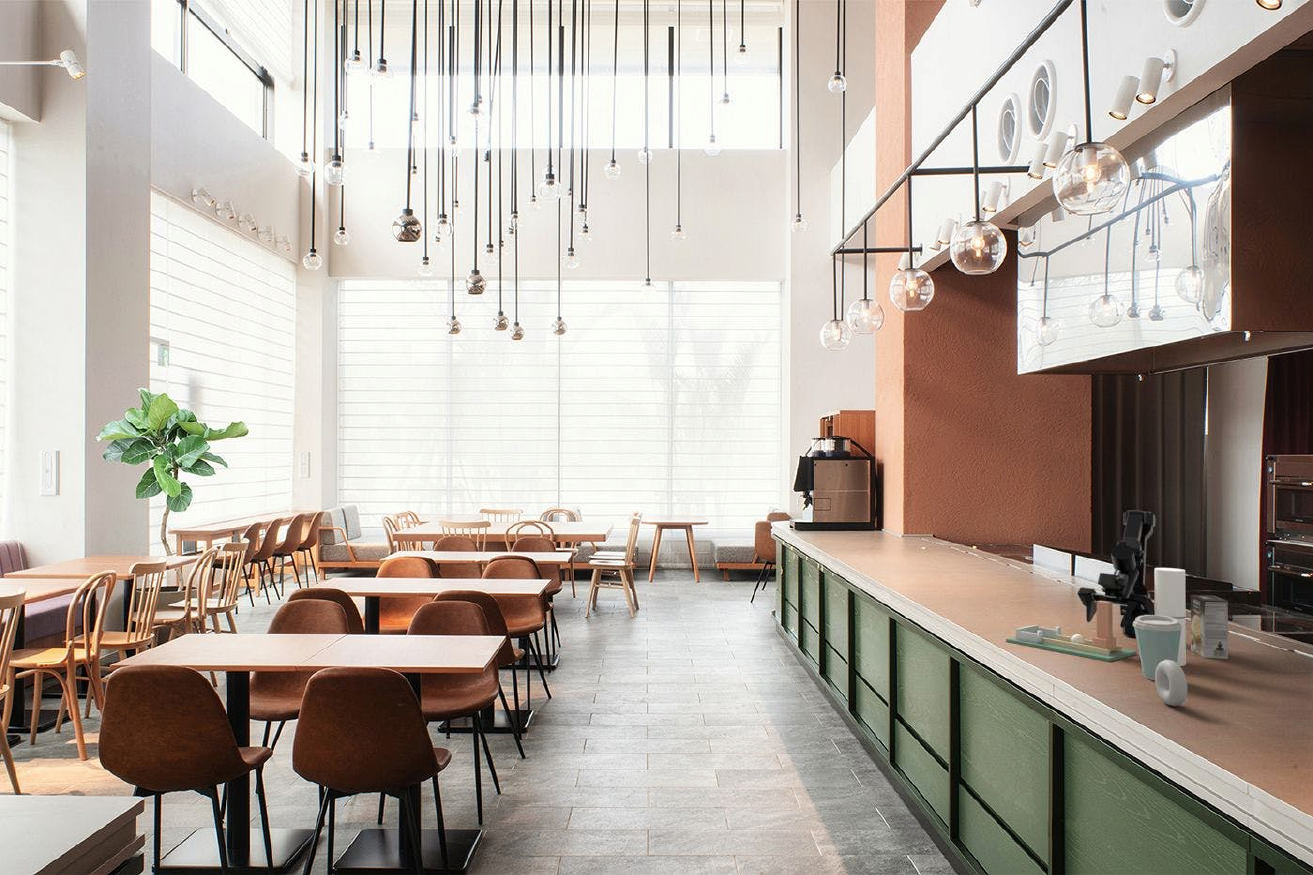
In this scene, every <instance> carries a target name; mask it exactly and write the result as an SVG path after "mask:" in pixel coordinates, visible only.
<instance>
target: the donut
mask: <svg viewBox="0 0 1313 875" xmlns="http://www.w3.org/2000/svg"><path fill="white" fill-rule="evenodd" d="M1154 682H1155V687H1156V691H1157V694H1158V695H1159V698H1160V699H1161V701H1163V702H1164V703H1165V704H1167V705H1168V706H1172V707H1178V706H1181V705H1182V704H1184V702H1185V701H1186V699H1187V696H1188V680H1187V677H1186V675H1185V672H1184V670H1183V669H1182V667H1181V666H1179V665H1178V664H1177V663H1176V662H1174V661H1171V660H1164V661H1162V662H1160V663H1159V664H1158V666H1157V668H1156V672H1155V680H1154Z"/></svg>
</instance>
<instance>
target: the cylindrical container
mask: <svg viewBox="0 0 1313 875" xmlns="http://www.w3.org/2000/svg"><path fill="white" fill-rule="evenodd" d="M1186 600H1187V599H1186V570H1185V569H1181V568H1175V567H1174V568H1173V567H1155V568H1154V607H1155V615H1159V616H1168V617H1171V618H1175V619H1177V620H1178V621H1179V624H1180V625H1182V630H1181V635H1180V643H1179V650H1178V658H1177V664H1178V665H1179V666H1180V667H1181V666H1182V667H1184V666H1187V648H1186V644H1187V642H1186V641H1187V640H1186V637H1187V632H1186V629H1187V628H1186V627H1187V626H1186V625H1187V624H1186V623H1187V622H1186V621H1187V620H1186V608H1187V607H1186Z"/></svg>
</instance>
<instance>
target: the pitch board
mask: <svg viewBox="0 0 1313 875" xmlns="http://www.w3.org/2000/svg"><path fill="white" fill-rule="evenodd" d="M1071 638H1072V636H1070V635H1069V636H1068V635H1065V634H1064V635H1063V634H1061V635H1058V634H1056V635H1055V638H1049V637H1044V636H1043V644H1038V643H1034V642H1029V641H1023V640H1018V639H1016V636H1014V637H1010V638H1006V639H1005V641H1006V643H1011V644H1016V645H1021V646H1024V647H1025V646H1027V647H1032V648H1037V649H1042V650H1045V651H1046V650H1047V651H1052V652H1056V653H1062V654H1066V653H1067V655H1072V656H1077V655H1078V656H1077V657H1082V656H1083V658H1088V659H1092V660H1098V661H1103V662H1108V663H1110V662H1113V661H1116V660H1120V659H1124V658H1127V656H1128V657H1130V656H1134V654H1135V655H1137V653H1138V651H1137V650H1133V649H1129V648H1124V646H1123V645H1120V644H1116V650H1115V651H1111V652H1110V650H1109V649H1104V648H1098V647H1093V639H1092V640H1091V639H1085V638H1084V639H1085V643H1084V645H1082V644H1076V643H1072V641H1071Z"/></svg>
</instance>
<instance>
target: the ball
mask: <svg viewBox="0 0 1313 875" xmlns="http://www.w3.org/2000/svg"><path fill="white" fill-rule="evenodd" d="M1071 637H1072V638H1071V641H1072V643H1076V644H1082V645H1084V643H1085V637H1084V636H1083V635H1081V634H1079V633H1076V634H1073V635H1072V636H1071Z"/></svg>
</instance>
